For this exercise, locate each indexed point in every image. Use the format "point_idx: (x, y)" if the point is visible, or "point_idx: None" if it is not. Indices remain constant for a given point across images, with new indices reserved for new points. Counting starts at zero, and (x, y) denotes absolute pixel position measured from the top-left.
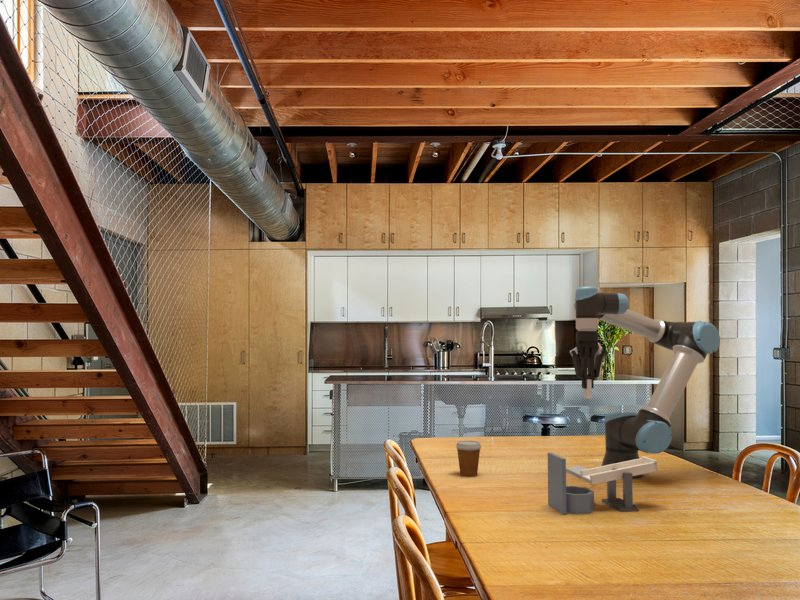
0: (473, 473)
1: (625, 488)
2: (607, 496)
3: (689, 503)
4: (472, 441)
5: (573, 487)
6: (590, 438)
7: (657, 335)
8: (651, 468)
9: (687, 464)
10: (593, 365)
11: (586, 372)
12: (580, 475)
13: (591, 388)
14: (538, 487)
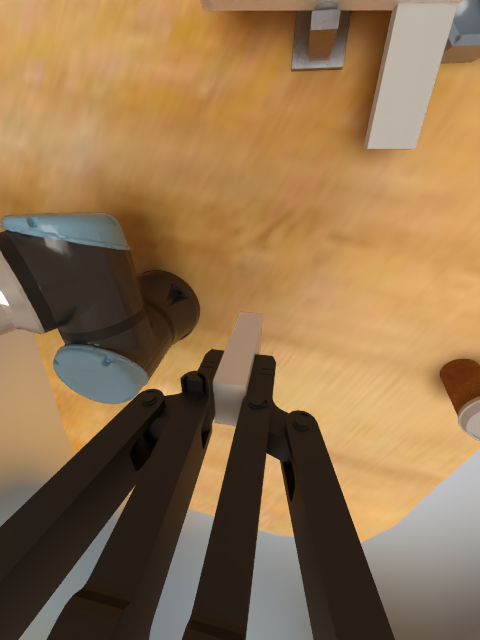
0: (465, 362)
1: None
2: (327, 61)
3: (133, 9)
4: (472, 433)
5: (457, 34)
6: None
7: None
8: None
9: None
10: (136, 498)
11: (241, 441)
12: (455, 8)
13: (228, 341)
14: (393, 247)
